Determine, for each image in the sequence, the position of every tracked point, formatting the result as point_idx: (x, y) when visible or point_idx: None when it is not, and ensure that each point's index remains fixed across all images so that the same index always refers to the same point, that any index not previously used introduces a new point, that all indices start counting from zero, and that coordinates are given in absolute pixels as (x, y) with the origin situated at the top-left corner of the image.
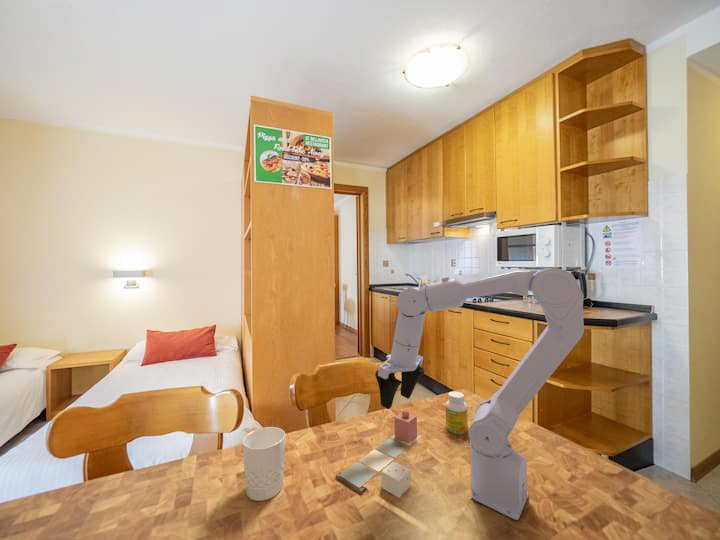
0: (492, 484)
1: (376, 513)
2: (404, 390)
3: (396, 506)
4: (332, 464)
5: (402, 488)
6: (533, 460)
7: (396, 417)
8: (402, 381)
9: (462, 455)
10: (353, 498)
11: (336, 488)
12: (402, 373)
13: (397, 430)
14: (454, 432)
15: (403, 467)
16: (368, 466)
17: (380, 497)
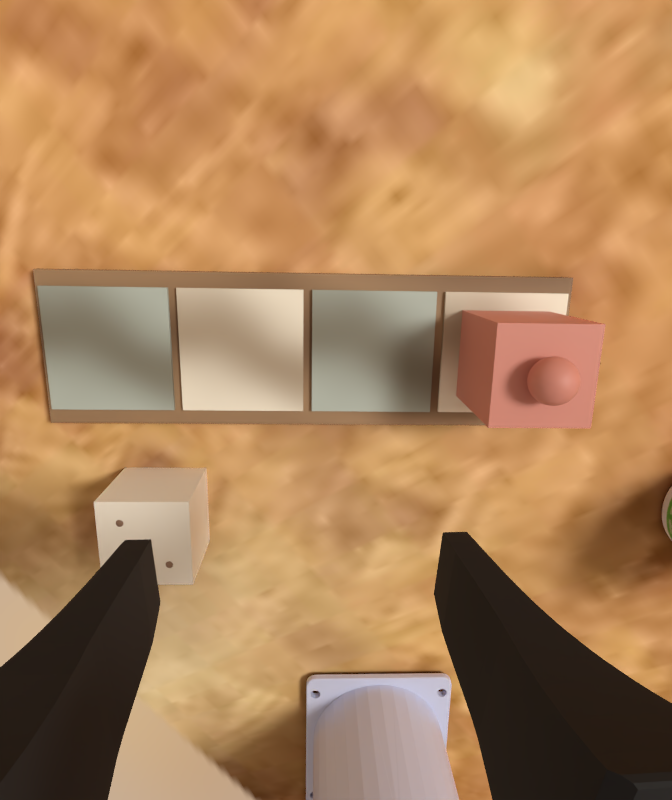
0: None
1: (34, 511)
2: (455, 598)
3: None
4: (91, 181)
5: None
6: None
7: (502, 335)
8: (492, 627)
9: (528, 593)
10: (20, 407)
11: (2, 317)
12: (537, 695)
13: (472, 335)
14: (670, 523)
15: (185, 555)
16: (180, 352)
17: (100, 479)
